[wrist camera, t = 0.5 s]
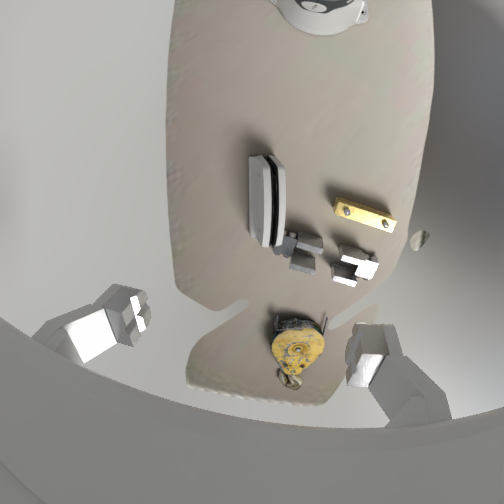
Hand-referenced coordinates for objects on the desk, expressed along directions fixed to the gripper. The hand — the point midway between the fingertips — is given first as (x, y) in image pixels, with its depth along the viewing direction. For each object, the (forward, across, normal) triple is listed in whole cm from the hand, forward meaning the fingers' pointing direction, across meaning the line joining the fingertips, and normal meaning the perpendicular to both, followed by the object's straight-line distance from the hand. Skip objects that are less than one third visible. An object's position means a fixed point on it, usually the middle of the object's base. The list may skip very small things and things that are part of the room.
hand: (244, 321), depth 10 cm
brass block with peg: (+44, -14, +9) cm, 47 cm away
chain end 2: (+44, -16, +20) cm, 50 cm away
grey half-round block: (+44, +4, +8) cm, 45 cm away
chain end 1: (+44, -2, +18) cm, 47 cm away
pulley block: (+44, -6, +50) cm, 67 cm away
